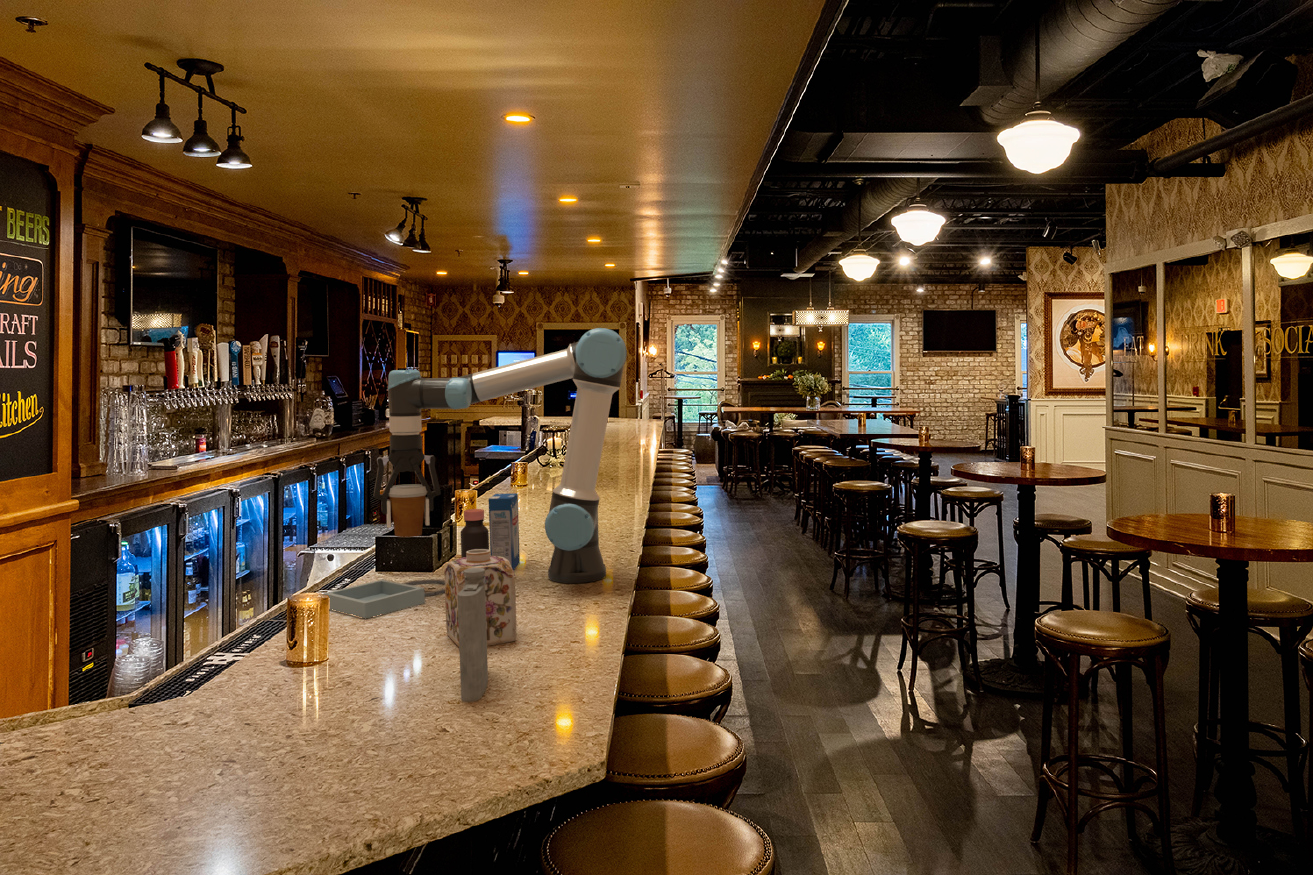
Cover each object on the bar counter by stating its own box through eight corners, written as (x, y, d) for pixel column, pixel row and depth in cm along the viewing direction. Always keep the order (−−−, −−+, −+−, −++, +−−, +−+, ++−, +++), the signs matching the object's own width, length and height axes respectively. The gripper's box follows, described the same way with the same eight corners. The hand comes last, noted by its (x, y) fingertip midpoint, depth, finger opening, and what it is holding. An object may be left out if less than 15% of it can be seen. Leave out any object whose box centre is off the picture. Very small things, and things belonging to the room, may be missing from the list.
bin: (424, 603, 198) (424, 587, 198) (365, 619, 186) (364, 603, 185) (383, 593, 208) (382, 579, 208) (324, 608, 195) (323, 593, 195)
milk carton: (513, 570, 230) (511, 498, 229) (490, 571, 230) (488, 498, 229) (519, 562, 240) (517, 493, 239) (498, 563, 240) (495, 493, 239)
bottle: (457, 592, 208) (454, 511, 206) (472, 585, 214) (470, 507, 213) (480, 594, 205) (477, 513, 204) (495, 587, 212) (493, 508, 210)
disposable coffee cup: (431, 536, 205) (430, 487, 204) (390, 539, 201) (388, 489, 200) (425, 530, 213) (424, 483, 213) (386, 533, 210) (385, 485, 209)
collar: (464, 587, 213) (464, 584, 213) (417, 600, 201) (417, 596, 201) (427, 579, 222) (427, 576, 221) (380, 591, 210) (380, 588, 210)
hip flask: (468, 669, 152) (464, 559, 151) (491, 667, 153) (488, 558, 151) (460, 702, 137) (455, 580, 135) (485, 700, 137) (481, 579, 136)
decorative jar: (459, 651, 163) (456, 559, 161) (445, 635, 173) (441, 548, 172) (519, 641, 168) (516, 552, 167) (501, 626, 178) (498, 542, 177)
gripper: (447, 431, 213) (450, 520, 214) (359, 433, 205) (361, 526, 207) (452, 433, 206) (454, 525, 207) (360, 435, 198) (363, 531, 200)
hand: (408, 525), depth 207 cm, fingers closed on disposable coffee cup, 8 cm apart
